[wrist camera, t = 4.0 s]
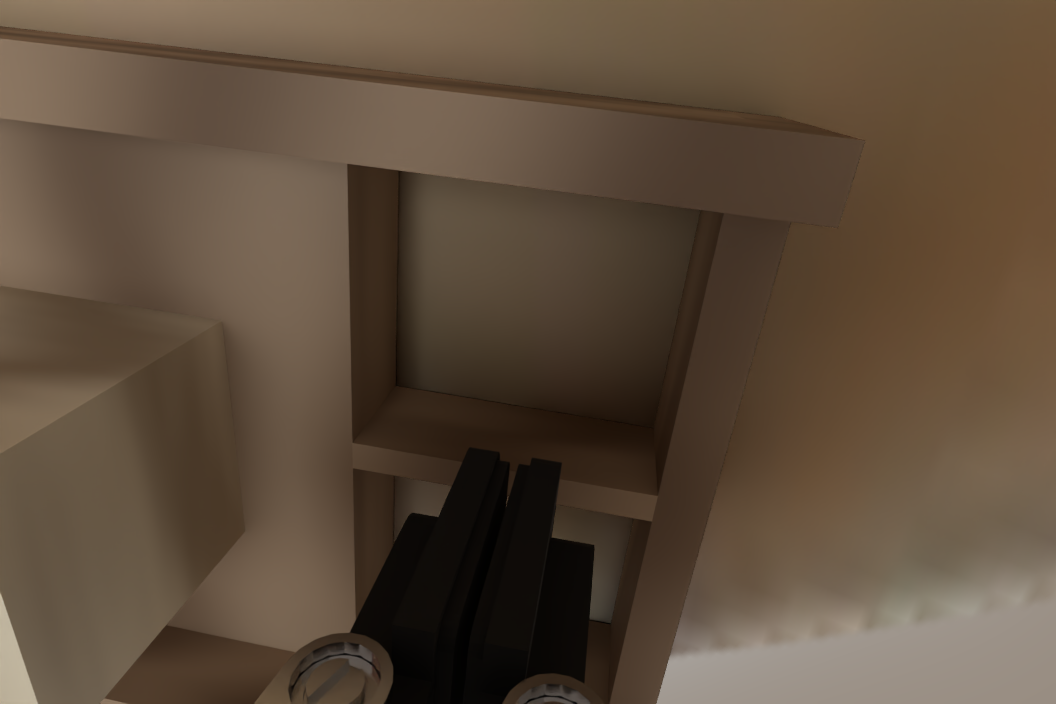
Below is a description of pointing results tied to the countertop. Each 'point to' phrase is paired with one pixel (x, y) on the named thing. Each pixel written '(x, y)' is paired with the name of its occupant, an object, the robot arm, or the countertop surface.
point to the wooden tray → (384, 309)
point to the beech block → (105, 486)
